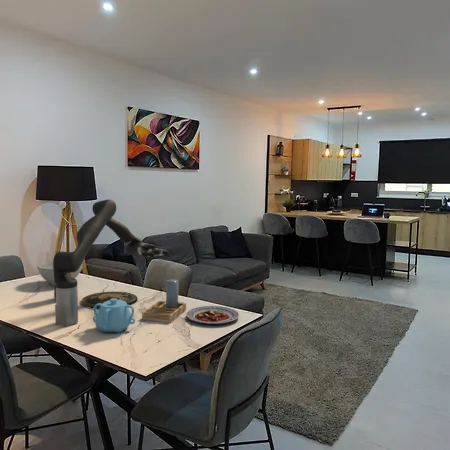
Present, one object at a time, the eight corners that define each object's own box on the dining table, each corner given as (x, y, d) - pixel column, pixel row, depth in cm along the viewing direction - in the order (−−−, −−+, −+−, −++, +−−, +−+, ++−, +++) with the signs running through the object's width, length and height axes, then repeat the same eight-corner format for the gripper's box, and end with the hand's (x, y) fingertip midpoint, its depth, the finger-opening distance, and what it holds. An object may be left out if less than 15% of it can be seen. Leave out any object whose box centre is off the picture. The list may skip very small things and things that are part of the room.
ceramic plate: (217, 331, 182) (217, 325, 182) (175, 319, 198) (175, 313, 197) (249, 317, 203) (249, 311, 203) (209, 306, 218) (209, 301, 218)
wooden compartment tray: (171, 322, 192) (171, 315, 192) (142, 319, 196) (142, 312, 195) (186, 310, 211) (186, 303, 211) (159, 307, 215) (159, 300, 215)
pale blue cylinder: (175, 312, 204) (175, 282, 202) (164, 310, 205) (164, 281, 204) (179, 308, 209) (180, 280, 208) (168, 307, 211) (169, 279, 209)
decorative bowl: (74, 276, 279) (74, 259, 278) (89, 284, 258) (89, 265, 257) (32, 282, 262) (31, 263, 261) (45, 291, 241) (44, 271, 240)
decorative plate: (127, 307, 208) (70, 304, 211) (127, 311, 209) (70, 308, 211) (144, 292, 238) (94, 290, 241) (144, 295, 238) (94, 293, 241)
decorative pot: (91, 326, 186) (90, 297, 184) (125, 320, 194) (125, 292, 193) (100, 338, 172) (99, 306, 171) (137, 331, 180) (137, 301, 179)
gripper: (134, 244, 221) (148, 248, 208) (158, 242, 230) (172, 246, 217) (134, 258, 222) (148, 263, 209) (158, 255, 230) (172, 260, 218)
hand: (160, 254), depth 213 cm, fingers open, 8 cm apart
